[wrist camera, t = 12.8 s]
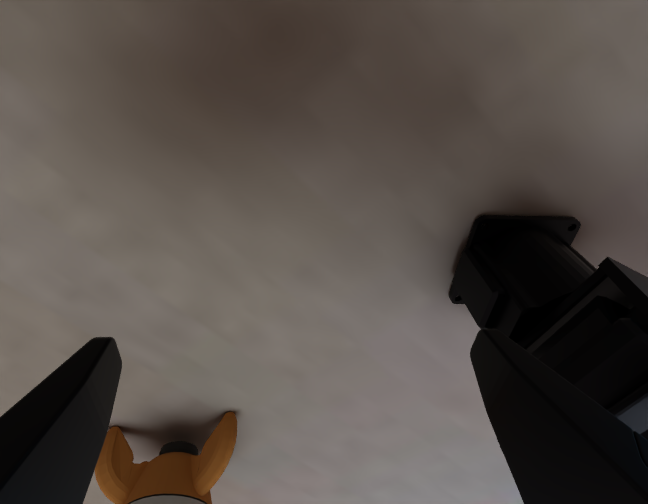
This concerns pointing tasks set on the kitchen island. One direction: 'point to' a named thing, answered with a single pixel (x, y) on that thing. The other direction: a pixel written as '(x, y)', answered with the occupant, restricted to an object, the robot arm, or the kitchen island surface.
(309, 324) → the kitchen island surface
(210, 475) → the toy rocket
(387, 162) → the kitchen island surface
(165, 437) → the kitchen island surface
